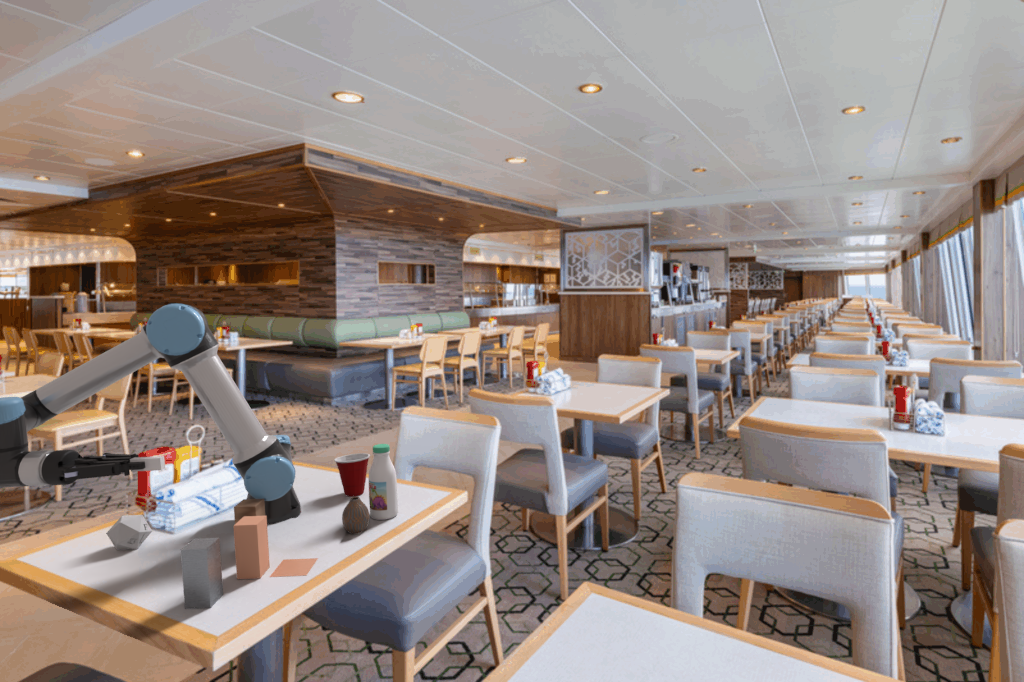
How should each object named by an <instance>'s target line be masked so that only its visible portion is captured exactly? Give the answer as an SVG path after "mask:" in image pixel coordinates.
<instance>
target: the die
mask: <svg viewBox="0 0 1024 682" xmlns="http://www.w3.org/2000/svg"><path fill="white" fill-rule="evenodd" d="M152 532H153V530H152V529H151V527H150V525H149V523H148V522H147V520H146V519H145V517H144V515H143V514H129V515H127V514H126V515H121V516H120V517H119V518H118V519H117V521H116V522H115V523H114V524H113V525H112V526H111V527H110V528H109V529H108V531H107V532H106V535H107V537H108V539H109V540H110V541H111V543H112V545H113V546H114V548H115V549H116V551H124V550H127V551H128V550H138V549H139V548H140V547H141V545H142V544H143V543H144V542H145V541H146V539H147V538H148V537H149V536H150V534H151V533H152Z"/></svg>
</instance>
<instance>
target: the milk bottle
mask: <svg viewBox="0 0 1024 682" xmlns="http://www.w3.org/2000/svg"><path fill="white" fill-rule="evenodd" d="M390 450H391V449H390V444H388V443H378V444H375V445H373V446H372V455H373V460H372V463H371V466H370V468H369V472H368V502H369V517H371V519H373V520H377V521H378V520H379V521H383V520H385V521H386V520H390V519H393V518H395V517H396V516H397V515H398V513H399V499H398V482H397V480H398V479H397V472H396V471H397V470H396V469H395V468H396V467H395V466H394V464H393V462H392V460H391V458H390V453H391V451H390Z"/></svg>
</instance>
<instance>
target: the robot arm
mask: <svg viewBox="0 0 1024 682" xmlns="http://www.w3.org/2000/svg"><path fill="white" fill-rule="evenodd" d="M219 346H220V344H219V342H218V340H217V339H216V338H215V336H214V334H213V332H212V330H211V329H210V327H209V321H208V319H207V316H206V315H205V313H203V311H201V309H199V308H197V307H196V306H194V305H191V304H187V303H179V302H178V303H177V302H176V303H168V304H166V305H163V306H161V307H159V308H157V309H156V310H155V311H153V312H152V314H151V315H150V316H149V319H148V320H147V323H146V324H145V325H144V326H142V327H141V330H140V332H139V333H137V334H135V335H134V336H132V337H130V338H128V339H126V340H125V341H123V342H120V343H119V344H117V345H115V346H113V347H112V348H110V349H108V350H106V351H105V352H104V351H103V353H101V354H99V355H97V356H96V357H94V358H92V359H90V360H87V361H86V362H84V363H82V364H81V365H79V366H77V367H75V368H73V369H71V370H70V371H68V372H65V373H64V374H62V375H60V376H59V377H57V378H55V379H53V380H51V381H49V382H47V383H45V384H44V385H42V386H39V387H38V388H37V389H35V390H33V391H31V392H29V393H28V394H25V395H24V396H21V397H20V396H6V397H5V396H4V397H0V489H3V488H18V487H19V488H20V487H34V486H35V487H36V486H38V488H40V489H42V488H44V487H45V486H67V485H71V484H73V483H75V482H76V481H77V480H82V479H84V480H85V479H94V478H95V479H96V478H101V477H102V478H103V477H104V478H105V477H112V476H120V475H121V474H123V475H124V477H127V476H128V477H129V476H130V472H151V471H163V470H165V469H166V463H165V462H166V461H165V456H164V455H163V456H161V455H160V456H159V455H157V456H141V457H140V456H139V454H137V453H131V454H128V453H110V452H105V453H104V452H103V453H102V455H93V454H90V455H84V456H82V455H81V454H80V452H78V451H77V450H74V449H59V450H57V449H56V450H51V449H50V450H32V451H30V450H29V437H28V432H30V431H31V430H33V429H35V428H38V427H40V426H41V425H43V424H45V423H47V421H50V420H51V419H52V418H53V419H54V418H55V417H56V416H58V415H59V414H61V413H63V412H65V411H67V410H68V409H70V408H72V407H74V406H75V405H78V404H79V403H81V402H83V401H85V400H86V399H88V398H90V397H92V396H93V395H94V396H95V394H98V393H99V392H100V391H102V390H104V389H106V388H108V387H110V386H111V385H113V384H115V383H117V382H118V381H120V380H123V378H126V377H127V376H130V375H131V374H133V373H134V372H136V371H138V370H140V369H142V368H144V367H145V366H147V365H149V364H150V363H153V362H154V361H156V360H158V359H160V358H162V359H164V360H165V362H166V363H167V365H168V366H169V367H170V369H173V370H177V371H180V372H181V373H182V374H183V376H184V377H185V379H186V380H187V381H188V384H189V385H190V387H191V388H192V390H193V391H194V393H195V394H196V396H197V398H198V399H199V400H200V402H201V404H202V405H203V407H204V408H205V410H206V412H207V413H208V414H209V416H210V417H211V419H212V421H213V422H214V423H215V426H216V427H217V428H218V430H219V432H220V433H221V434H222V436H223V438H224V439H225V441H226V442H227V444H228V446H229V447H230V448H231V450H232V452H233V453H234V454H233V458H232V461H231V462H232V464H233V466H234V467H235V469H236V471H237V472H238V473H239V475H240V477H241V478H242V480H243V484H244V488H245V490H246V492H247V497H246V499H264V502H265V516H267V525H273V524H277V523H281V522H285V521H287V520H290V519H296V518H297V517H299V516H300V515H301V513H302V510H301V508H302V507H301V502H300V500H299V498H298V496H297V493H296V490H295V489H294V483H295V479H296V467H295V466H294V462H293V459H292V451H291V450H292V449H291V446H292V443H291V438H290V436H289V435H287V434H273V435H272V434H268V433H267V432H266V430H265V428H264V427H263V425H262V424H261V423H260V421H259V419H258V418H257V415H256V414H255V413H254V411H253V409H252V408H251V407H250V405H249V403H248V401H247V400H246V398H245V397H244V395H243V393H242V391H241V389H239V387H238V385H237V384H236V382H235V381H234V379H233V378H232V376H231V374H230V372H229V371H228V369H227V367H226V365H225V364H224V363H223V362H222V360H221V358H220V356H219V354H218V350H219Z"/></svg>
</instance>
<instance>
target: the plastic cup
mask: <svg viewBox="0 0 1024 682" xmlns="http://www.w3.org/2000/svg"><path fill="white" fill-rule="evenodd" d="M370 457H371V454H369V453H350V454H344V455H342V456H337V457H335V458H334V459H333V460H334V462H335V464H336V466H337V469H338V473H339V477H340V480H341V481H340V482H341V485H342V489H343V493H344V495H345V496H346V497H349V498H352V497H360V496H361V495H363V494H364V492H365V489H366V488H365V486H366V482H367V481H366V480H367V472H368V463H369V459H370Z"/></svg>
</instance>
